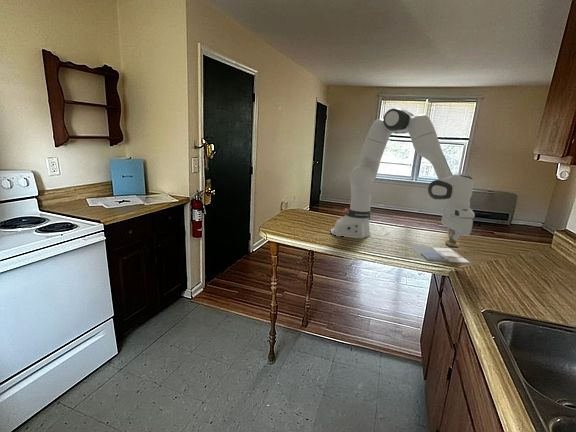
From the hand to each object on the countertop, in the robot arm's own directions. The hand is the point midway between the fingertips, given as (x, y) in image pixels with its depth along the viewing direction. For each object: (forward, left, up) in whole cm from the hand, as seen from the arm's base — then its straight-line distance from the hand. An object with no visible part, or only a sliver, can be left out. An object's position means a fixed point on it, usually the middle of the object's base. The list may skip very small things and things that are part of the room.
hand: (452, 238), depth 145 cm
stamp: (0, 0, -4) cm, 4 cm away
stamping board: (-5, 0, -9) cm, 10 cm away
